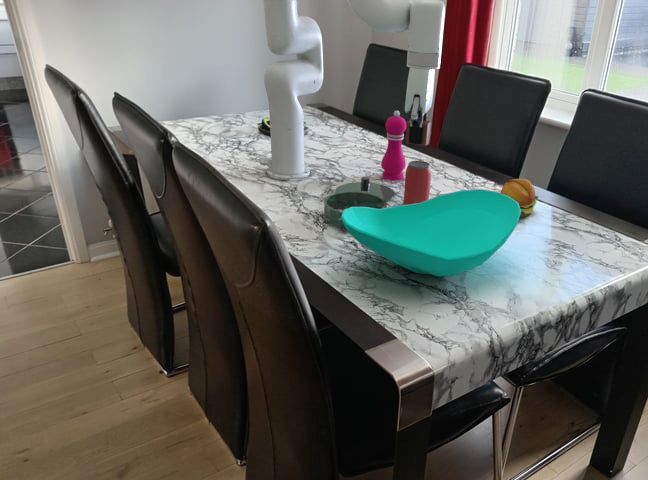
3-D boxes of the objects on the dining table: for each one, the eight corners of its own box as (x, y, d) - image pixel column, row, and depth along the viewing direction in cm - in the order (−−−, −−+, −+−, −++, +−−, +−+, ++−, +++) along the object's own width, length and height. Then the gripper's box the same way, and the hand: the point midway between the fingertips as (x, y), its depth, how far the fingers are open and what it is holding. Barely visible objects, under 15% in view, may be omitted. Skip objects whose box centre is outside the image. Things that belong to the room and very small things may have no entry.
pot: (311, 230, 137) (311, 212, 134) (337, 200, 154) (338, 184, 152) (374, 239, 134) (375, 222, 132) (393, 208, 152) (394, 192, 149)
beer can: (410, 214, 149) (414, 169, 143) (398, 205, 154) (401, 161, 148) (432, 210, 152) (436, 166, 146) (419, 202, 157) (423, 159, 151)
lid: (327, 201, 153) (327, 183, 151) (345, 182, 167) (345, 165, 165) (386, 210, 150) (388, 191, 148) (400, 189, 164) (401, 172, 162)
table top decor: (465, 228, 143) (472, 176, 136) (542, 277, 122) (554, 219, 115) (317, 256, 125) (316, 198, 118) (377, 318, 104) (381, 253, 98)
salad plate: (292, 122, 225) (292, 110, 223) (321, 132, 214) (321, 120, 212) (250, 129, 213) (249, 116, 211) (278, 140, 202) (278, 127, 200)
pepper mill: (402, 183, 169) (407, 114, 159) (378, 181, 170) (381, 112, 160) (406, 176, 175) (411, 109, 166) (383, 173, 176) (386, 106, 167)
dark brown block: (405, 143, 137) (406, 122, 135) (408, 139, 141) (410, 118, 138) (425, 146, 137) (427, 124, 134) (428, 141, 140) (430, 121, 137)
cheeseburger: (536, 206, 158) (543, 175, 151) (530, 229, 151) (537, 197, 144) (500, 200, 160) (504, 169, 154) (492, 222, 153) (497, 190, 146)
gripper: (414, 54, 137) (409, 131, 146) (399, 63, 123) (394, 148, 132) (445, 57, 136) (438, 134, 145) (433, 66, 122) (426, 152, 131)
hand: (417, 140), depth 138 cm, fingers closed on dark brown block, 4 cm apart
